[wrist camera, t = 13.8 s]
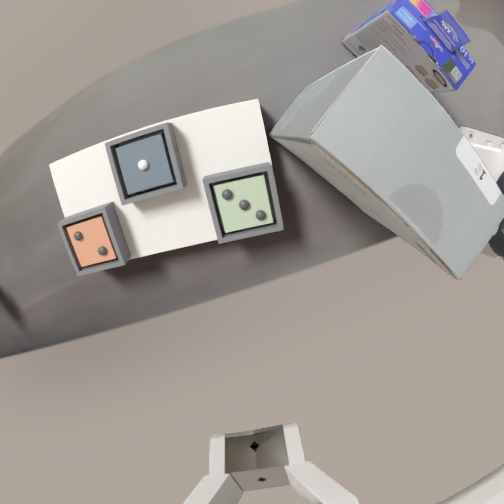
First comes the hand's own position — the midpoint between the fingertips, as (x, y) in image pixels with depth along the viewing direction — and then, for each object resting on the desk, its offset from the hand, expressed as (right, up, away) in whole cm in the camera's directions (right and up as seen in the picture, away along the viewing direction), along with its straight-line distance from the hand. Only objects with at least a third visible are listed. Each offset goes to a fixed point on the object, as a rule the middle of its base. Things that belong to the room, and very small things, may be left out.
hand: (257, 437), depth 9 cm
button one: (-11, +16, +21) cm, 28 cm away
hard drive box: (+10, +18, +25) cm, 32 cm away
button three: (-1, +12, +23) cm, 26 cm away
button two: (-18, +8, +24) cm, 31 cm away
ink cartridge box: (+16, +30, +20) cm, 39 cm away
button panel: (-11, +14, +25) cm, 31 cm away
